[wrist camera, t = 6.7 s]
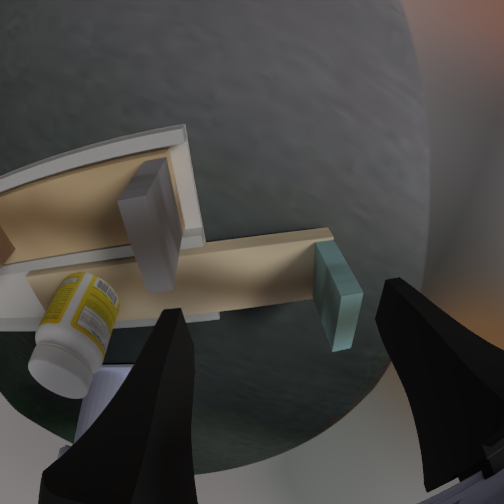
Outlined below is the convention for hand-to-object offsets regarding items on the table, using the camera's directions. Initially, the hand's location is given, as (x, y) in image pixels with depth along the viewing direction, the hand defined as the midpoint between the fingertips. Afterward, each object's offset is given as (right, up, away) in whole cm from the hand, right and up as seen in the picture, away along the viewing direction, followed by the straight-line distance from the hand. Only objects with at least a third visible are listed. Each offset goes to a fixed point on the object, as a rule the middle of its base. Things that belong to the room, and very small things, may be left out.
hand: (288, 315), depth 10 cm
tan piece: (-7, 0, +10) cm, 12 cm away
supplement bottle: (-13, 0, +10) cm, 16 cm away
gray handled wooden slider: (-16, +4, +6) cm, 18 cm away
